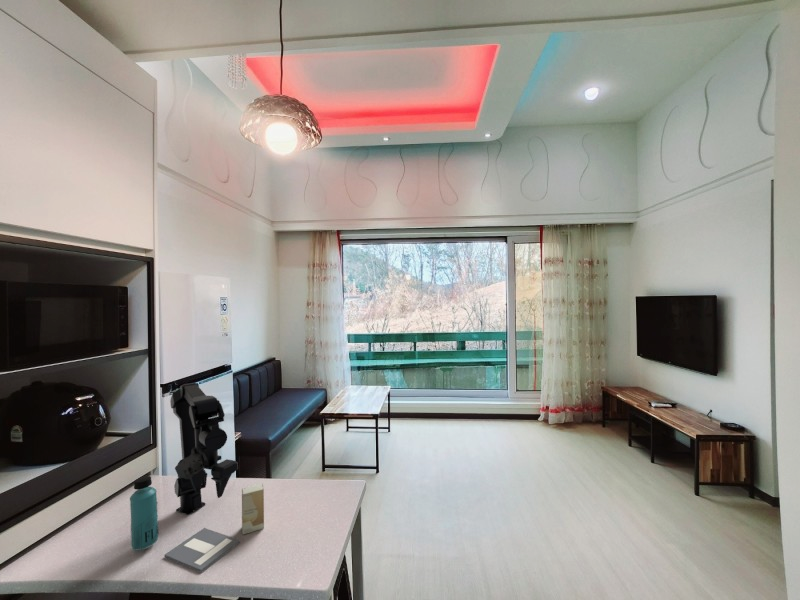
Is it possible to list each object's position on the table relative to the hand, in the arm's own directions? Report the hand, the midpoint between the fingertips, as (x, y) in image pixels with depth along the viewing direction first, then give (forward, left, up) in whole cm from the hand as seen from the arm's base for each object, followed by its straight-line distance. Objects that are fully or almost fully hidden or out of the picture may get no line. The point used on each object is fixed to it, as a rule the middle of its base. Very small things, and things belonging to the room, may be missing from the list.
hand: (208, 494), depth 102 cm
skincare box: (+8, +9, -14) cm, 18 cm away
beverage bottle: (-15, -9, -14) cm, 22 cm away
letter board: (+2, -4, -13) cm, 14 cm away
